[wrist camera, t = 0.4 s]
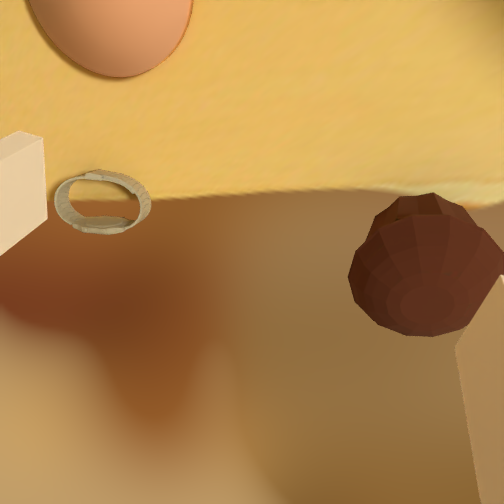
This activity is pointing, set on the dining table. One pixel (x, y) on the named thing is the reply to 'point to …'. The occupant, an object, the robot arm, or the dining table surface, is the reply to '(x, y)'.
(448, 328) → the muffin
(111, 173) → the wristwatch
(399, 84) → the dining table surface
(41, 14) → the saucer
